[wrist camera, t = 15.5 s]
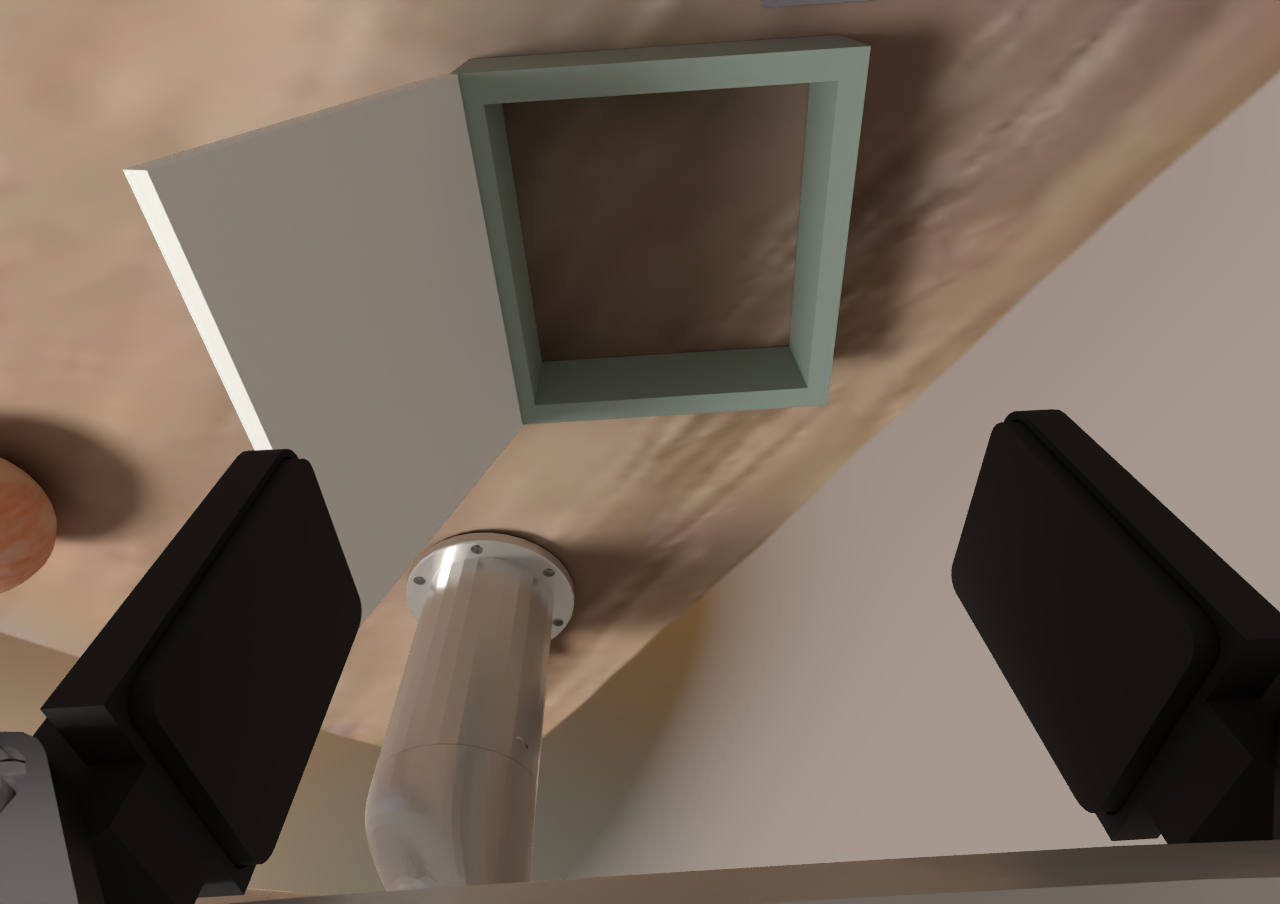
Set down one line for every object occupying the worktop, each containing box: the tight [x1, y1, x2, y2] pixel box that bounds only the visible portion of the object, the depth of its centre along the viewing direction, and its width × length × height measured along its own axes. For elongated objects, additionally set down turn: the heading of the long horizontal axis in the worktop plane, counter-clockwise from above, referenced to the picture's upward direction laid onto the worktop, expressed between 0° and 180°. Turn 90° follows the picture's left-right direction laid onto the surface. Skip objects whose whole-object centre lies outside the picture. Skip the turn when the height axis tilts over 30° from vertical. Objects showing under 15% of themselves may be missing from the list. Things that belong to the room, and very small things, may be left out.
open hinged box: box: [123, 34, 871, 628], centre depth 30 cm, size 17×23×19 cm
